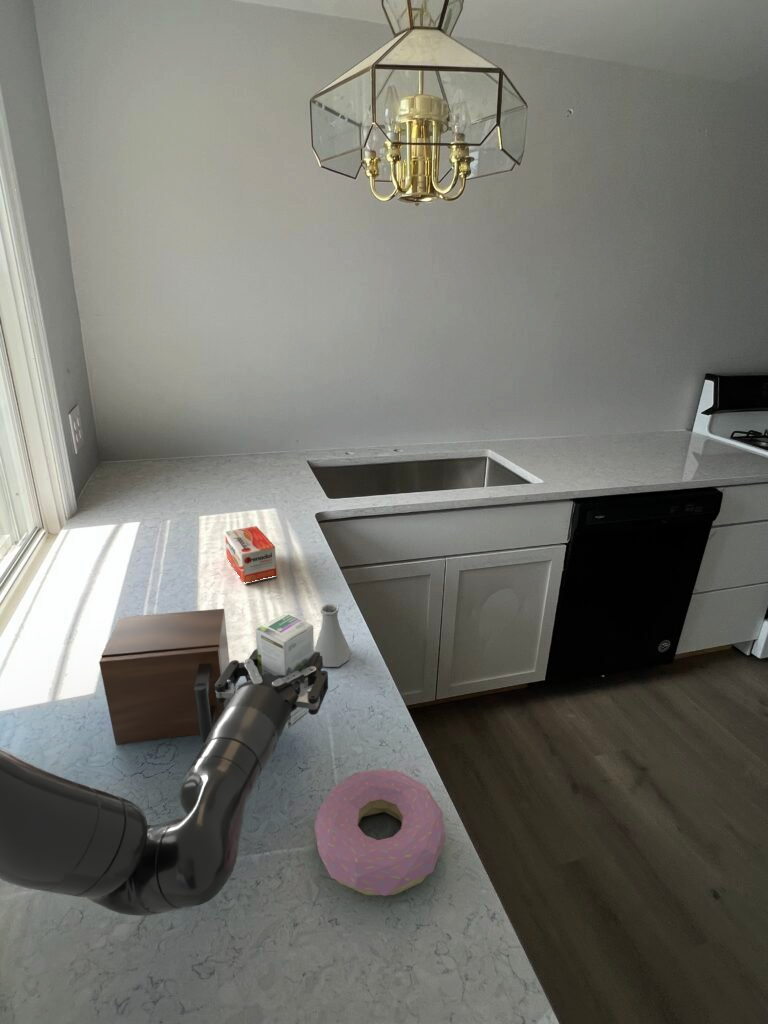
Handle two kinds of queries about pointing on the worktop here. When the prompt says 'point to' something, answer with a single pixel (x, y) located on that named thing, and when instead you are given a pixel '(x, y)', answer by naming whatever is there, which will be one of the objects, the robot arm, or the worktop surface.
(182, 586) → the worktop surface
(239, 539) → the medicine box
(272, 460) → the worktop surface
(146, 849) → the robot arm
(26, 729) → the worktop surface
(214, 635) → the cabinet
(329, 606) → the flask
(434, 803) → the donut
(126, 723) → the door
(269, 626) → the syrup box
